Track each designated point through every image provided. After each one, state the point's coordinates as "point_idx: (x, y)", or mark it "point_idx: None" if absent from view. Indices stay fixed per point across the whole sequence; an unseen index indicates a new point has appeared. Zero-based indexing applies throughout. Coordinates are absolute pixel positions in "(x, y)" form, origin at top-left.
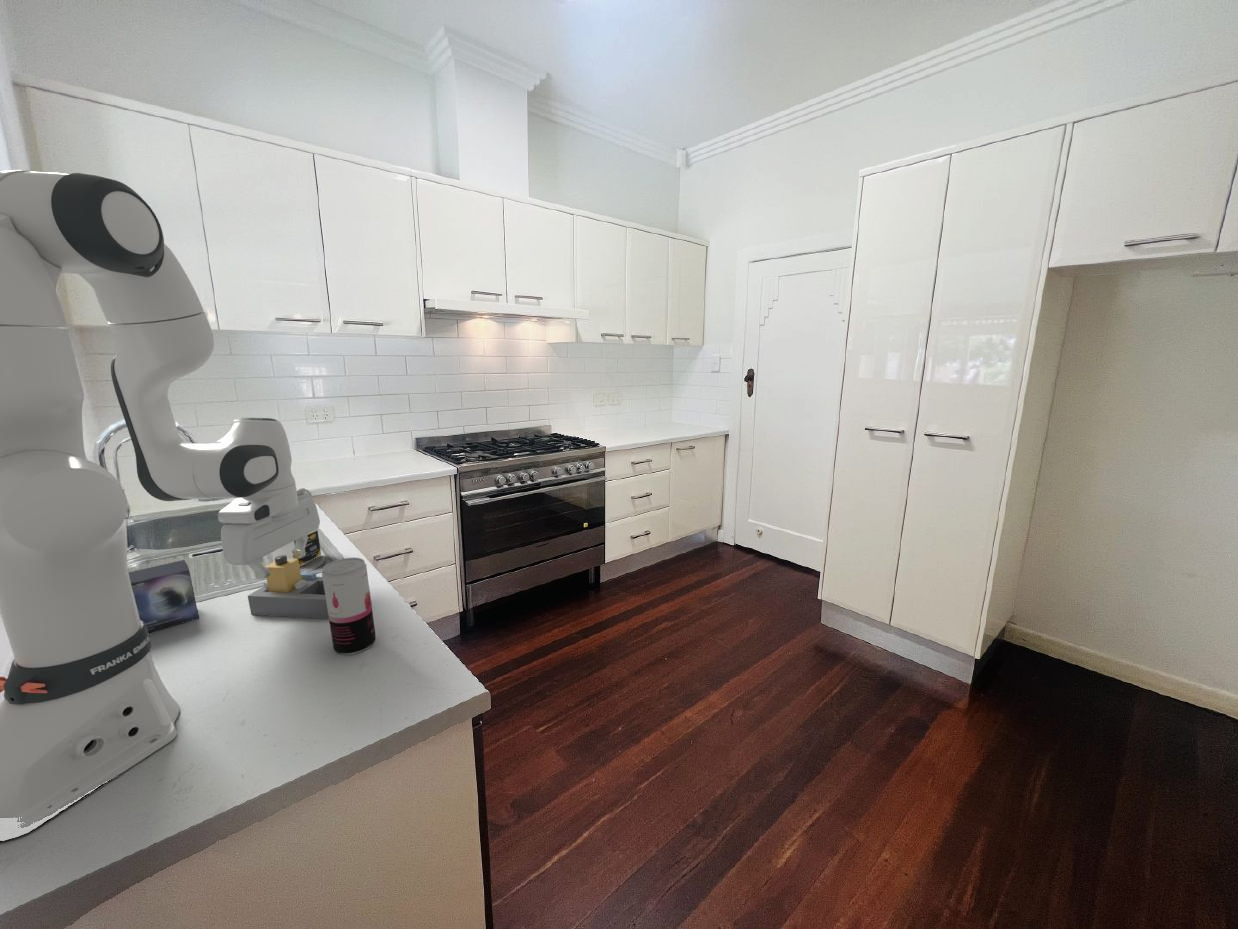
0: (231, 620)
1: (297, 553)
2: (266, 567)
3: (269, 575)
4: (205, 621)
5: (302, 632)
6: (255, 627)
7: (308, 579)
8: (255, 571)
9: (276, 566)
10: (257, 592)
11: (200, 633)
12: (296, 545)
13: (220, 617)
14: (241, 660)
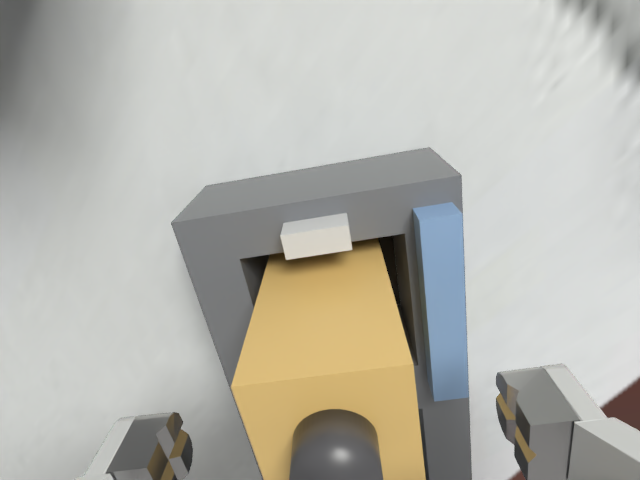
0: (134, 144)
1: (515, 442)
2: (237, 398)
3: (189, 453)
4: (63, 14)
5: (200, 443)
6: (150, 293)
7: (425, 365)
8: (92, 473)
9: (273, 453)
10: (221, 241)
11: (3, 118)
12: (609, 461)
13: (124, 55)
14: (22, 409)
